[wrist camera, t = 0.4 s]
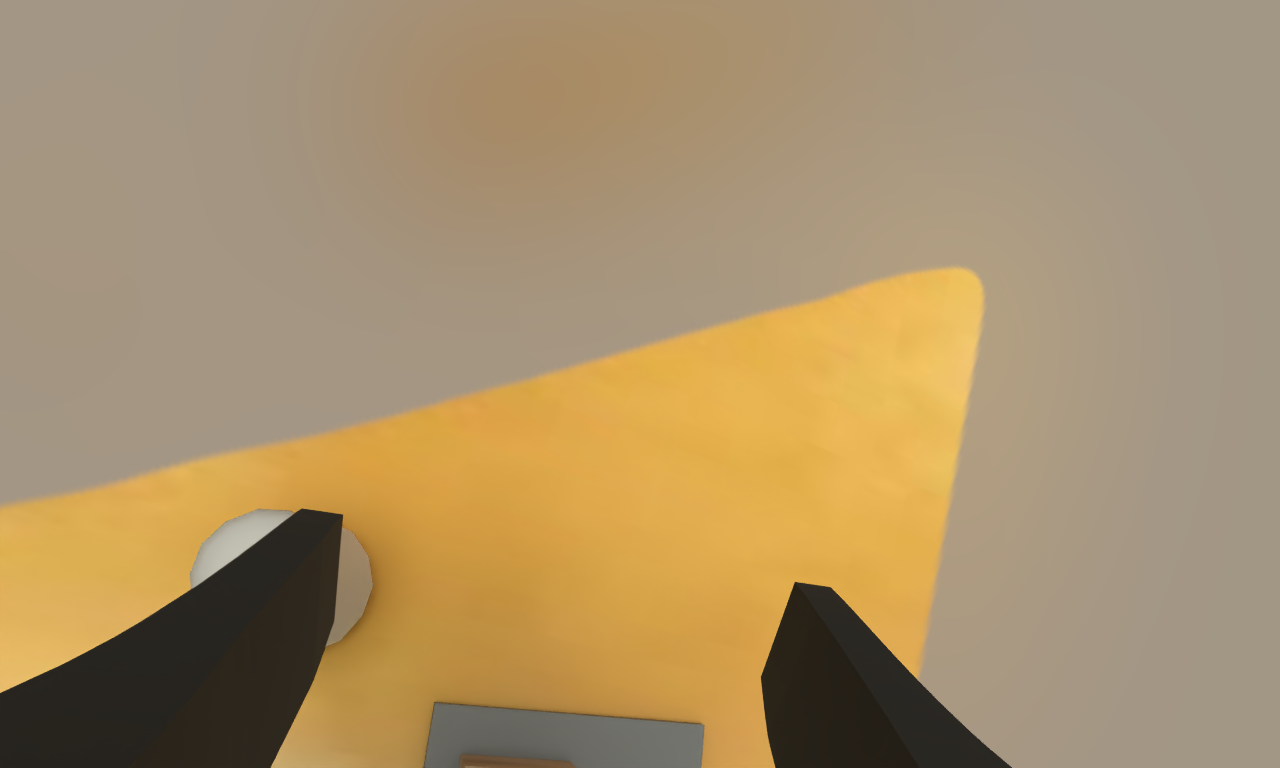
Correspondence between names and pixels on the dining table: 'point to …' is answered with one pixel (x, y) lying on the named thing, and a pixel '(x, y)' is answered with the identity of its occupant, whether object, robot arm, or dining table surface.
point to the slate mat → (560, 738)
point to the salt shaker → (259, 523)
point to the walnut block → (509, 762)
